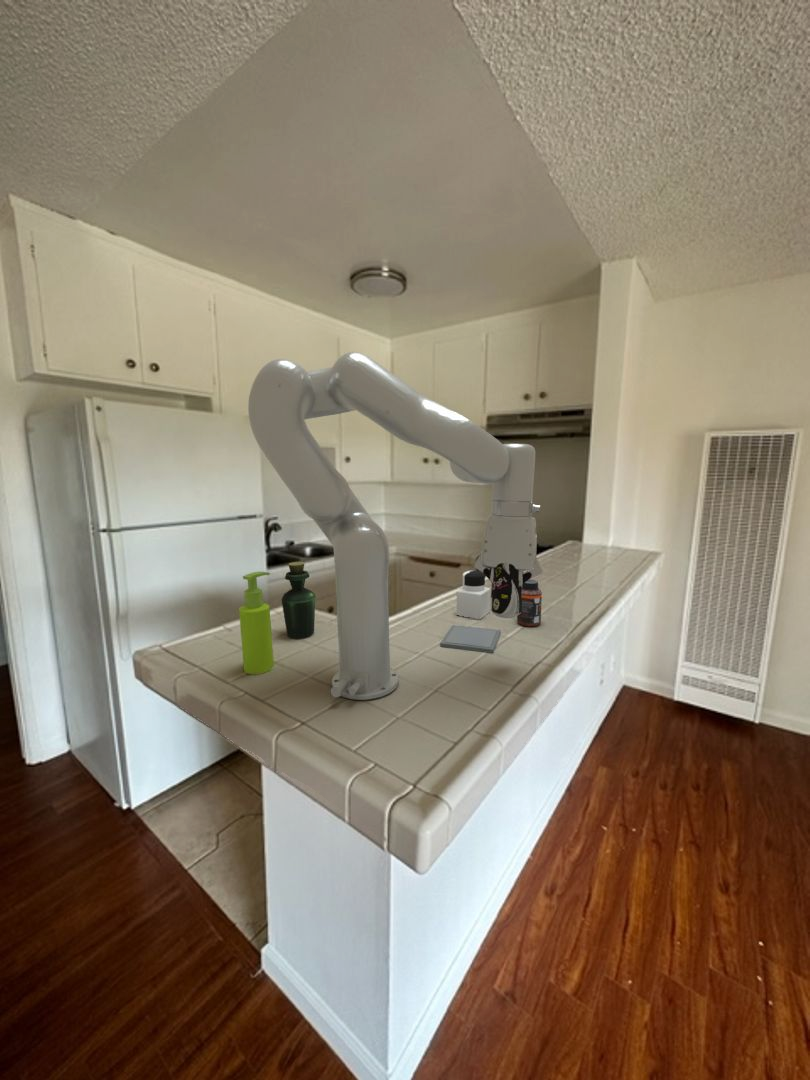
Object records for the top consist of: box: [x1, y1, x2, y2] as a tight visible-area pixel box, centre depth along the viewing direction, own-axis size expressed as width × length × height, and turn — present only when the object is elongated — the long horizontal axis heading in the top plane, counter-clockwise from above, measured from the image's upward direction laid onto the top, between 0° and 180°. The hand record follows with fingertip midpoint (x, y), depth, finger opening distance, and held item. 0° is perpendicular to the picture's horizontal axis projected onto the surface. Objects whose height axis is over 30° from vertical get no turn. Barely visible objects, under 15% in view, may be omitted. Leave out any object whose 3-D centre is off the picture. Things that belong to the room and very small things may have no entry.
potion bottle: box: [281, 561, 316, 640], centre depth 107 cm, size 8×8×18 cm
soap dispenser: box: [238, 571, 275, 675], centre depth 90 cm, size 6×7×20 cm
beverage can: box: [490, 563, 522, 619], centre depth 86 cm, size 6×6×12 cm
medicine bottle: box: [456, 570, 491, 620], centre depth 120 cm, size 7×7×12 cm
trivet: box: [439, 624, 502, 654], centre depth 103 cm, size 12×12×1 cm
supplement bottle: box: [516, 578, 543, 628], centre depth 112 cm, size 6×6×11 cm
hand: (505, 601), depth 87 cm, fingers closed on beverage can, 3 cm apart
